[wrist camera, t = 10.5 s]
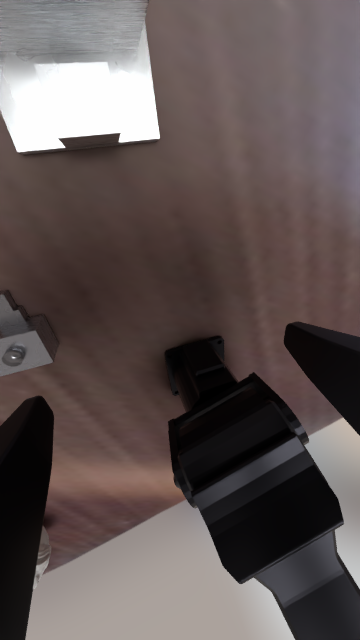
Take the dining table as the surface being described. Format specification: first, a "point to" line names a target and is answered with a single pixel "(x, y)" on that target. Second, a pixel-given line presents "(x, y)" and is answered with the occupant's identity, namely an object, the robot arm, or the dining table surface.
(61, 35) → the grey square frame
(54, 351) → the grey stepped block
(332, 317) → the dining table surface
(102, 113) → the peg stand
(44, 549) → the grey stone carving
